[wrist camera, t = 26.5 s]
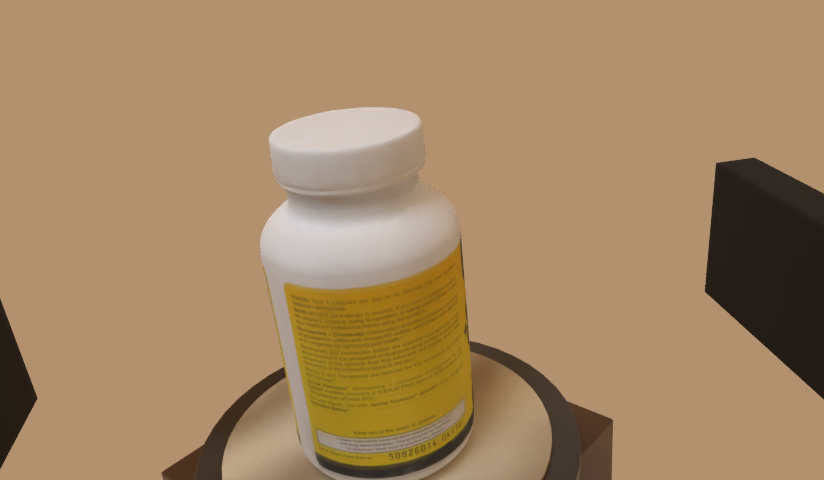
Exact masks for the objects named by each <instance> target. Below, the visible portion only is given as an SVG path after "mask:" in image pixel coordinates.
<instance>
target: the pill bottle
mask: <svg viewBox="0 0 824 480" xmlns="http://www.w3.org/2000/svg"><path fill="white" fill-rule="evenodd" d="M269 147H270V153H271V160H272V167H273V173H274V176H275V177H276V182H277V184H278V185H279V186H280V187H281V188H283V189H285V190H286V191H287V197H288V200H286V201H285V202H284V203H283V204H282V205H281V206H280V207H279V208H278V209H277V210H276V211H275V212H274V213H273V215H272V216H271V217H270V218H269V220H268V221H267V223H266V225H265V227H264V229H263V232H262V235H261V239H260V253H261V259H262V264H263V270H264V276H265V280H266V285H267V289H268V294H269V299H270V303H271V308H272V312H273V317H274V321H275V326H276V331H277V335H278V340H279V344H280V349H281V354H282V359H283V364H284V369H285V373H286V378H287V383H288V388H289V393H290V398H291V403H292V408H293V413H294V418H295V423H296V429H297V433H298V437H299V442H300V444H301V447H302V449H303V451H304V453H305V455H306V457H307V458H308V459H309V461H310V462H311V463H312V464H313V465H314V466H315V467H316V468H317V469H318V470H320V471H321V472H323V473H324V474H326V475H328V476H329V477H331V478H333V479H335V480H419V479H422V478H424V477H426V476H429V475H431V474H433V473H434V472H436V471H438V470H440V469H441V468H443V467H444V466H445V465H447V464H448V463H449V462H451V461H452V460H453V459H454V458H455V457H456V456H457V455H458V454H459V452H460V451H461V450H462V449H463V447H464V446H465V444H466V443H467V441H468V439H469V437H470V434H471V431H472V428H473V422H474V397H473V385H472V373H471V359H470V346H469V331H468V319H467V306H466V293H465V282H464V270H463V257H462V245H461V232H460V224H459V220H458V216H457V214H456V211H455V209H454V207H453V206H452V204H451V203H450V202H449V201H448V200H447V198H446V197H444V195H442V194H441V193H440V192H439V191H437V190H436V189H435V188H433V187H431V186H430V185H428V184H426V183H424V182H421V181H419V174H418V172H419V171H420V170H421V169H422V167H423V165H424V162H425V145H424V137H423V129H422V122H421V120H420V118H419V116H417V115H416V114H414V113H412V112H409V111H405V110H401V109H395V108H382V107H370V108H369V107H368V108H351V109H342V110H334V111H328V112H322V113H318V114H314V115H310V116H306V117H302V118H299V119H296V120H293V121H290V122H288V123H286V124H284V125H282V126H280V127H279V128H277V129H275V130H274V131H273V132H272V133H271V134H270V137H269Z"/></svg>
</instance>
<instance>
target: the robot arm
mask: <svg viewBox="0 0 824 480" xmlns="http://www.w3.org/2000/svg"><path fill="white" fill-rule="evenodd" d="M705 292H706V293H707V294H708V295H709V296H710V297H712V298H713V299H714V300H715V301H716V302H717V303H718V304H719V305H720V306H721V307H722V308H724V309H725V310H726V311H727V312H728V313H729V314H730V315H731V316H732V317H734V318H735V319H736V320H737V321H738V322H739V323H740V324H741V325H743V327H745V328H746V329H747V330H748V331H749V332H750V333H751V334H752V335H754V337H756V338H757V339H758V340H759V341H760V342H761V343H762V344H763V345H764V346H766V347H767V348H768V349H769V350H770V351H771V352H772V353H773V354H774V355H775V356H777V357H778V358H779V359H780V360H781V361H782V362H783V363H784V364H785V365H786V366H788V367H789V368H790V369H791V370H792V371H793V372H794V373H795V374H797V375H798V376H799V377H800V378H801V379H802V380H803V381H804V382H805V383H806V384H807V385H809V386H810V387H811V388H812V389H813V390H814V391H815V392H816V393H818V394H819V395H820V396H821V397H822V398H823V399H824V194H823V193H821V192H819V191H818V190H816V189H813V188H812V187H810V186H808V185H806V184H804V183H802V182H800V181H798V180H796V179H794V178H793V177H790V176H789V175H787V174H785V173H783V172H781V171H779V170H777V169H775V168H773V167H771V166H769V165H767V164H766V163H764V162H762V161H760V160H758V159H756V158H749V159H742V160H735V161H728V162H721V163H716V171H715V183H714V194H713V205H712V218H711V228H710V240H709V251H708V263H707V273H706V285H705ZM36 400H37V396H36V393H35V390H34V388H33V385H32V383H31V380H30V377H29V374H28V372H27V369H26V367H25V364H24V361H23V358H22V356H21V353H20V351H19V348H18V345H17V342H16V340H15V337H14V334H13V332H12V329H11V326H10V324H9V321H8V318H7V316H6V313H5V310H4V308H3V305H2V302H1V300H0V468H1V466H2V464H3V463H4V461H5V459H6V457H7V455H8V453H9V451H10V449H11V447H12V445H13V444H14V442H15V440H16V438H17V436H18V434H19V432H20V430H21V429H22V427H23V425H24V423H25V421H26V419H27V417H28V415H29V413H30V412H31V410H32V408H33V406H34V404H35V402H36Z"/></svg>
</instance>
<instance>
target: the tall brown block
mask: <svg viewBox="0 0 824 480" xmlns="http://www.w3.org/2000/svg"><path fill="white" fill-rule="evenodd" d="M469 346H470V359H471V373H472V385H473V397H474V422H473V428H472V431H471V434H470V437H469V439H468V441H467V443H466V444H465V446H464V447H463V449H462V450H461V451H460V452H459V454H458V455H457V456H456V457H455V458H454V459H453V460H452V461H451V462H449V463H448V464H447V465H445V466H444V467H443V468H441V469H440V470H438V471H436V472H434V473H433V474H431V475H429V476H426V477H424V478H422V479H419V480H611V477H612V475H611V474H612V473H611V472H612V436H613V420H612V419H610V418H608V417H605V416H603V415H600V414H598V413H595V412H593V411H590V410H588V409H585V408H583V407H580V406H578V405H575V404H572V403H570V402H568V401H566V399H565V398H564V397H563V396H562V394H561V393H560V392H559V390H558V389H557V388H556V387H555V386H554V385H553V384H552V383H551V382H550V381H549V380H548V379H547V378H546V377H545V376H544V375H543V374H541V373H540V372H539V371H537V370H536V369H534V368H533V367H532V366H530V365H529V364H527V363H525V362H524V361H522V360H520V359H518V358H516V357H515V356H513V355H510V354H508V353H505V352H503V351H501V350H499V349H496V348H493V347H490V346H487V345H483V344H480V343H476V342H471V341H469ZM162 477H163V480H335V479H333V478H331V477H329V476H328V475H326V474H324V473H323V472H321V471H320V470H318V469H317V468H316V467H315V466H314V465H313V464H312V463H311V462H310V461H309V459H308V458H307V457H306V455H305V453H304V451H303V449H302V447H301V444H300V442H299V437H298V433H297V429H296V423H295V418H294V413H293V408H292V403H291V398H290V393H289V388H288V383H287V378H286V373H285V369H284V367H283V368H281V369H279V370H278V371H276V372H274V373H272V374H271V375H269V376H267V377H266V378H265V379H263V380H262V381H260V382H259V383H257V384H256V385H254V386H253V387H252V388H251V389H249V390H248V391H247V392H246V393H245V394H243V395H242V396H241V397H240V398H239V399H238V400H237V401H236V402H235V403H234V404H233V405H232V406H231V407H230V408H229V409H228V410H227V411H226V412H225V413H224V415H223V416H222V417H221V419H220V420H219V421H218V422H217V424H216V425H215V426H214V428H213V429H212V431H211V433H210V435H209V436H208V438H207V440H206V442H205V444H204V445H203V446H201V447H200V448H198V449H196V450H195V451H193V452H192V453H190V454H189V455H187V456H186V457H184V458H183V459H181V460H179V461H178V462H176V463H175V464H173V465H172V466H170V467H169V468H167V469H166V470H164V471H163V472H162Z"/></svg>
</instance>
